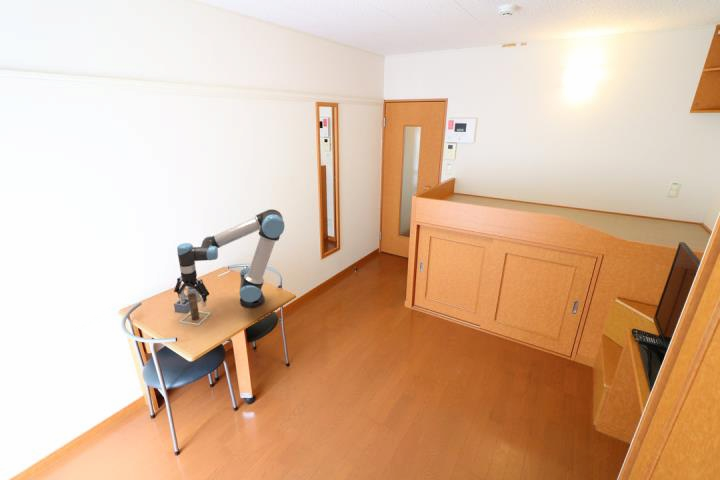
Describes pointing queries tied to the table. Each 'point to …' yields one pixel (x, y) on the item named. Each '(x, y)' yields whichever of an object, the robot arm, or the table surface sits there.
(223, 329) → the table surface
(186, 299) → the grey open box
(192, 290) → the mug
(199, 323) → the tray
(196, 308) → the dowel
